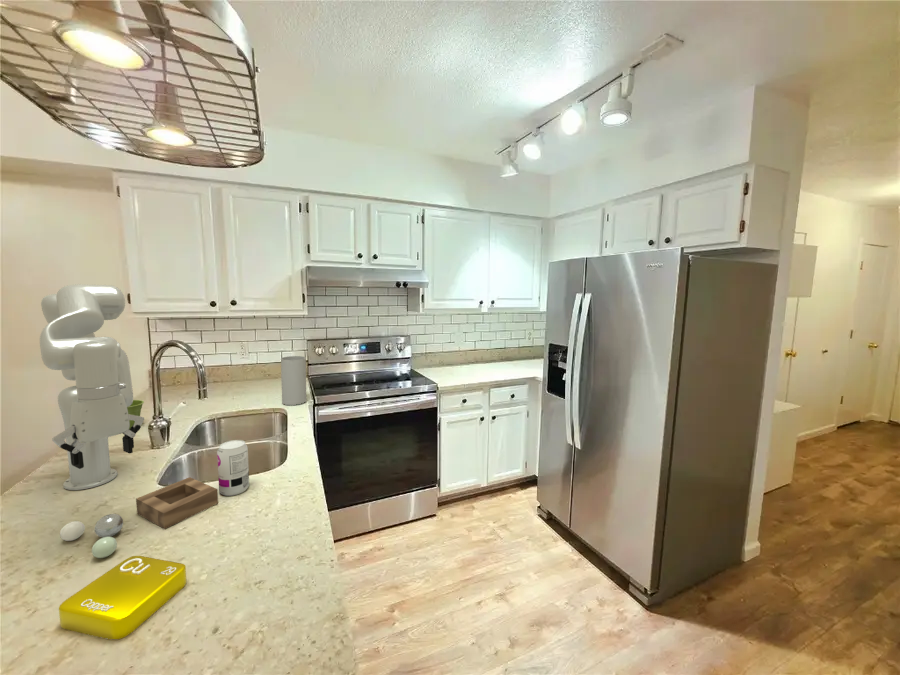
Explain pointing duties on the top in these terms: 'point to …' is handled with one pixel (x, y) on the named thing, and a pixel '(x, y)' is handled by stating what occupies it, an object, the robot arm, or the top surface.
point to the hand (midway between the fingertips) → (104, 459)
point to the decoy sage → (104, 547)
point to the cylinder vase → (293, 380)
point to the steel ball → (109, 525)
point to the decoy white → (72, 531)
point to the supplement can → (233, 467)
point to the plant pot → (135, 410)
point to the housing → (176, 502)
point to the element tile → (122, 597)
